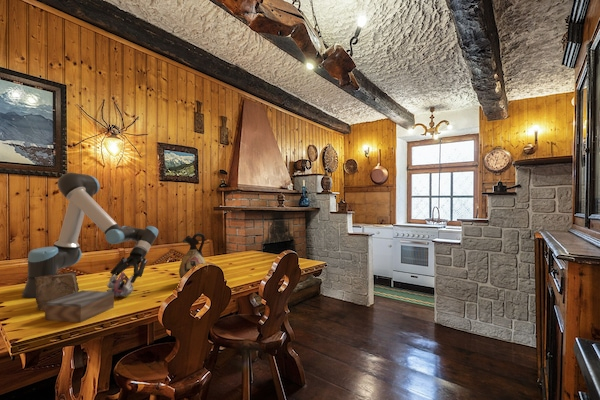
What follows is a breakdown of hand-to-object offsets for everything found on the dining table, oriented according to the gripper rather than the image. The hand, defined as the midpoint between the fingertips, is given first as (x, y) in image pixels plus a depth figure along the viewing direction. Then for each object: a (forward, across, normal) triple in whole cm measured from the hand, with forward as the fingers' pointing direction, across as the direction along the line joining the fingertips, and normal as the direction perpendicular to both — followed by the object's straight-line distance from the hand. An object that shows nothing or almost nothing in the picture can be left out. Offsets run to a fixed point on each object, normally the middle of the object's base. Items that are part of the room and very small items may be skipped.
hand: (117, 287), depth 144 cm
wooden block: (+18, 0, +11) cm, 21 cm away
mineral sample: (+15, +17, +7) cm, 24 cm away
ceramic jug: (-19, -24, -26) cm, 40 cm away
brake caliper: (+1, 0, -4) cm, 5 cm away
